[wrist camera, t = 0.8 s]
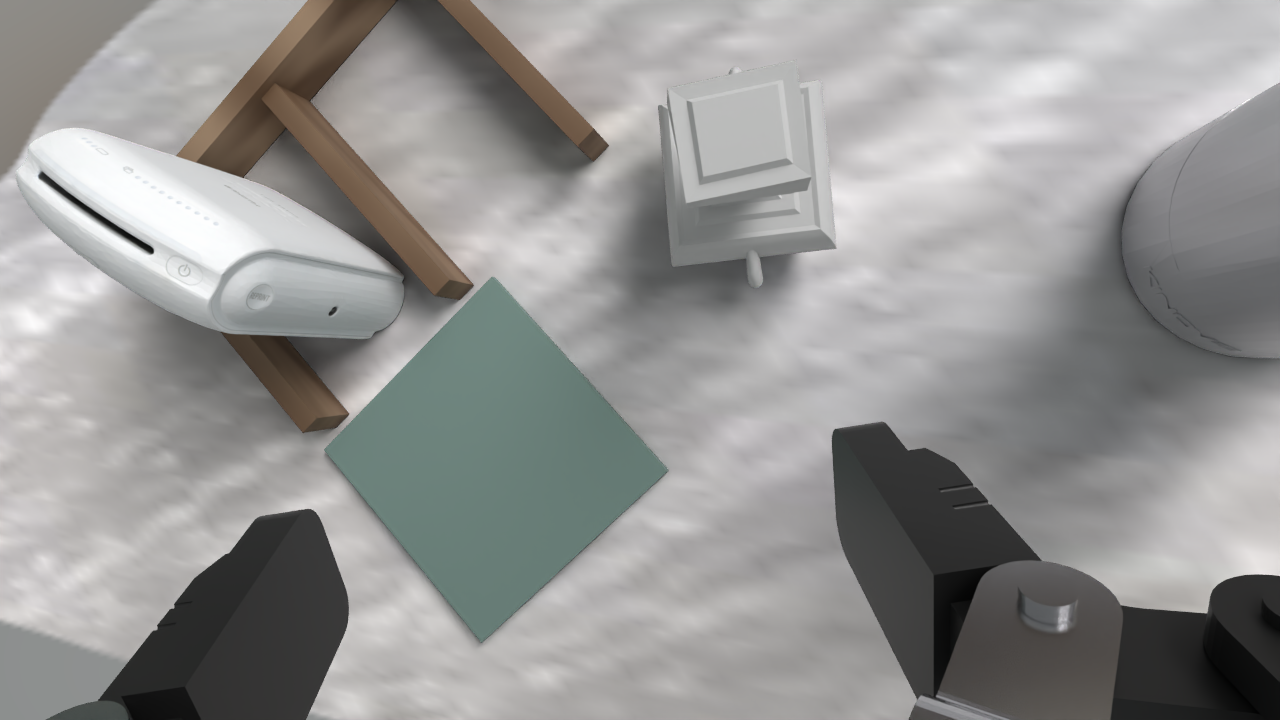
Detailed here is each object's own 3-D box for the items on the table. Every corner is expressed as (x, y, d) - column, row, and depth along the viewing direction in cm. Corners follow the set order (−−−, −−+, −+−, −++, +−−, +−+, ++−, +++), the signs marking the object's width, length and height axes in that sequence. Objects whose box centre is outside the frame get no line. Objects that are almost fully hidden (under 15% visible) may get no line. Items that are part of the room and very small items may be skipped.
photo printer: (424, 275, 36) (232, 233, 24) (382, 352, 36) (172, 349, 24) (263, 174, 38) (8, 87, 25) (225, 248, 38) (-43, 197, 26)
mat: (495, 277, 35) (491, 276, 35) (668, 470, 33) (667, 471, 33) (328, 449, 37) (323, 449, 36) (485, 639, 35) (481, 642, 35)
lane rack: (418, -53, 36) (383, -89, 33) (608, 145, 34) (590, 125, 31) (173, 230, 39) (121, 220, 36) (335, 427, 37) (295, 433, 34)
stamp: (665, 100, 33) (620, 15, 25) (817, 74, 32) (823, -25, 24) (684, 301, 33) (645, 282, 25) (838, 284, 32) (851, 258, 23)
